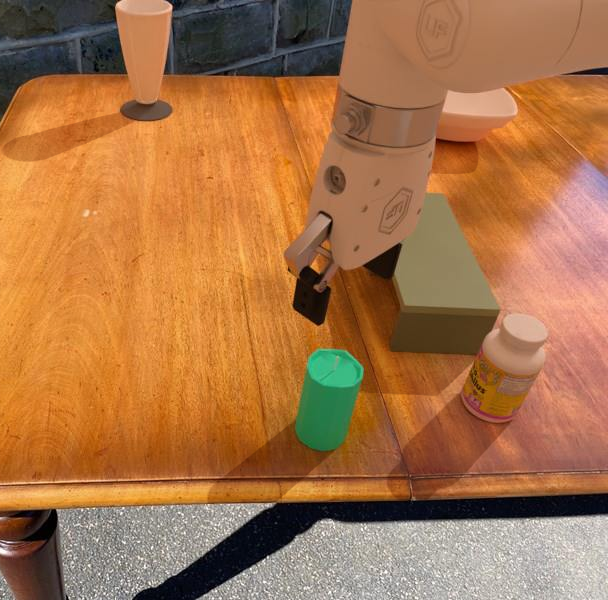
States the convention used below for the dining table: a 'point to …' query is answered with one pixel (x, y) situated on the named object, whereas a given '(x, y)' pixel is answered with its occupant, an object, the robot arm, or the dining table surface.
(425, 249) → the shelf
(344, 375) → the candle
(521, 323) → the supplement bottle
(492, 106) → the bowl
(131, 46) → the cup
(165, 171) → the dining table surface
